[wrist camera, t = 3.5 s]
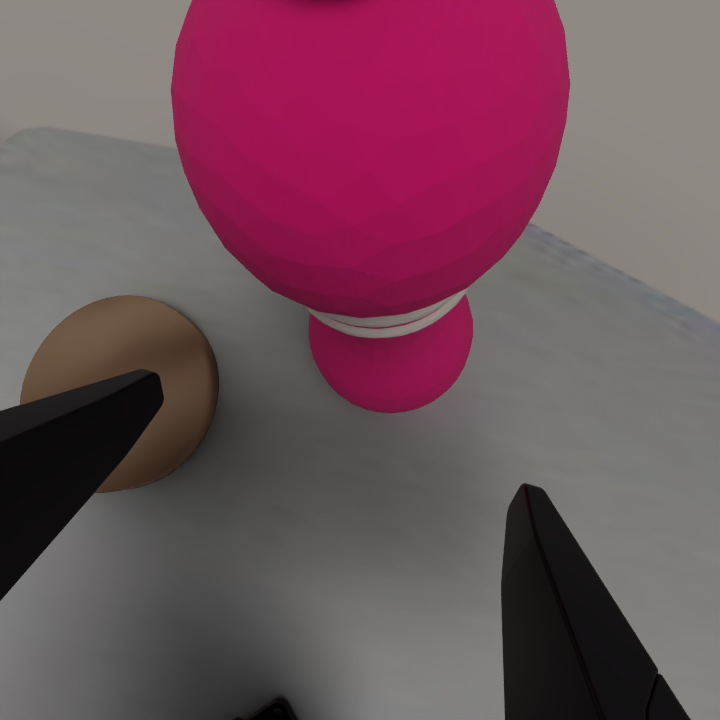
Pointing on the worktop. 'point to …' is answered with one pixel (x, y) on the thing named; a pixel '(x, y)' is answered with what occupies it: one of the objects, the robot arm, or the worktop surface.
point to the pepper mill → (372, 165)
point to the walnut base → (129, 353)
